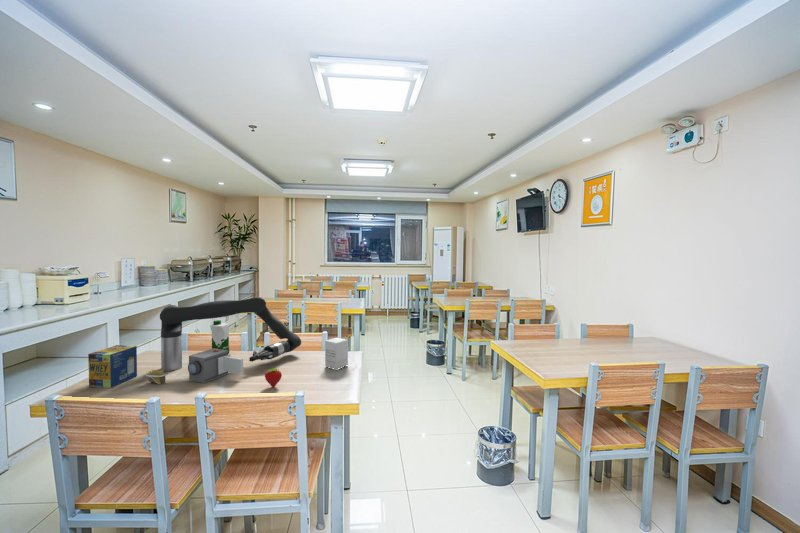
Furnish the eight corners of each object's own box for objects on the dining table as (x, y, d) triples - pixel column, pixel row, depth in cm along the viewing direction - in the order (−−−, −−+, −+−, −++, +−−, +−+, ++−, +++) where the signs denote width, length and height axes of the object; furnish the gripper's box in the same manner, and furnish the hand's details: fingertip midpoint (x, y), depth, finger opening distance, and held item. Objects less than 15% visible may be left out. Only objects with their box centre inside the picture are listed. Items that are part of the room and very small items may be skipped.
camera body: (200, 385, 161) (200, 358, 160) (184, 382, 164) (184, 355, 164) (229, 373, 176) (228, 348, 176) (213, 371, 180) (213, 346, 179)
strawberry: (279, 389, 157) (279, 367, 157) (262, 389, 157) (262, 367, 156) (283, 384, 163) (283, 363, 162) (267, 384, 163) (267, 363, 162)
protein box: (88, 387, 156) (87, 353, 156) (117, 375, 172) (117, 344, 171) (110, 388, 156) (109, 354, 155) (137, 376, 171) (137, 345, 171)
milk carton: (219, 351, 215) (218, 319, 214) (232, 352, 213) (231, 320, 213) (208, 355, 207) (208, 322, 206) (222, 356, 205) (221, 322, 204)
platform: (164, 390, 155) (164, 375, 155) (126, 388, 156) (126, 374, 156) (183, 380, 167) (182, 367, 167) (147, 379, 168) (147, 366, 168)
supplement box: (336, 363, 195) (336, 337, 194) (348, 366, 190) (348, 339, 189) (324, 367, 187) (324, 340, 187) (336, 371, 182) (336, 342, 182)
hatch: (236, 377, 165) (236, 361, 165) (217, 374, 169) (217, 358, 169) (247, 373, 172) (247, 357, 172) (229, 370, 176) (229, 354, 176)
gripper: (264, 342, 196) (240, 350, 179) (283, 345, 191) (260, 353, 175) (264, 355, 196) (240, 365, 180) (283, 358, 191) (260, 368, 175)
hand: (250, 359), depth 177 cm, fingers closed
